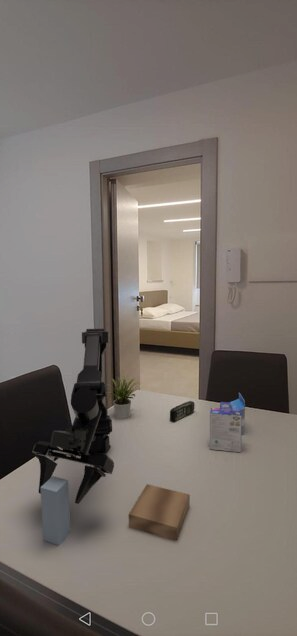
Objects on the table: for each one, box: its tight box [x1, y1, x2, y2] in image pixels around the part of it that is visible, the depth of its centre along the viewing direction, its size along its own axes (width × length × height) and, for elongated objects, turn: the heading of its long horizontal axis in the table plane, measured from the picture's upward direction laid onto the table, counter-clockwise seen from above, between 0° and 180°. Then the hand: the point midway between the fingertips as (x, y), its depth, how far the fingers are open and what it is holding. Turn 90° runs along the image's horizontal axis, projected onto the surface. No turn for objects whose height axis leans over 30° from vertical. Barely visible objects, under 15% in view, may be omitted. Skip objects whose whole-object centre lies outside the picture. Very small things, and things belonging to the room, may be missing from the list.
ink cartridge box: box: [209, 401, 242, 453], centre depth 103 cm, size 10×6×14 cm, turn 78°
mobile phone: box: [169, 400, 195, 423], centre depth 127 cm, size 5×3×15 cm
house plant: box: [106, 376, 141, 420], centre depth 126 cm, size 14×14×16 cm
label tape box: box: [228, 392, 246, 436], centre depth 115 cm, size 9×4×12 cm, turn 178°
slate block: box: [40, 475, 71, 546], centre depth 68 cm, size 4×4×12 cm
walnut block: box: [128, 483, 191, 542], centre depth 74 cm, size 11×11×4 cm
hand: (57, 498), depth 68 cm, fingers open, 9 cm apart
